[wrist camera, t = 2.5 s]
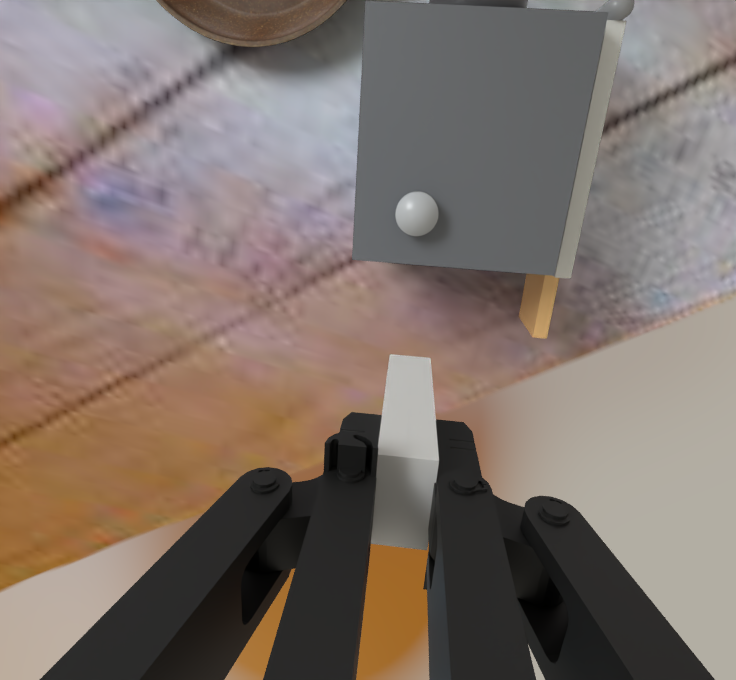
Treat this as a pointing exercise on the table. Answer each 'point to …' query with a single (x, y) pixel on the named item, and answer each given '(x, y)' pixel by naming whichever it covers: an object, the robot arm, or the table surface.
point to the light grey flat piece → (578, 176)
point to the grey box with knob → (471, 131)
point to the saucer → (252, 18)
